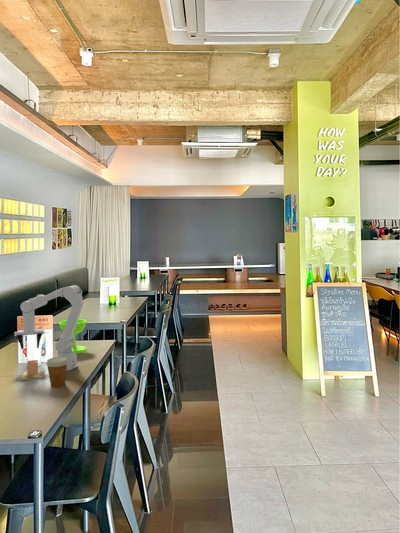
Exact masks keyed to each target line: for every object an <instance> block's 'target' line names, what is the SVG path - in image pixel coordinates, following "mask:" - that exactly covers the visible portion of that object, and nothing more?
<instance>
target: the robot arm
mask: <svg viewBox="0 0 400 533" xmlns="http://www.w3.org/2000/svg"><path fill="white" fill-rule="evenodd" d="M82 294H83V290H82V289H81V287H80V286H79V285H77V284H72V285H70V286H65V287H61V288H58V289H56V290H54V291H52V292H49V293H48V294H46V295H45V294H39V293H38V294H37V295H36V296H35V297H33V298H31V297H30V298H29V299H28V300H25V301H23V302H22V303H20V310H21V312H22V322H23V325H22V326H23V330H21V331H14V337H16V339H17V341H18V343H19V346H20V348H21V350H24V336H32V335H34V336H35V335H36V348H37V349H39V347H40V342H41V338H42V336H43V335H45V330H44V329H36V317H35V310H37V309H38V308H41V307H42V306H46V305H47V304H48V302H49V301H51V300H53V299H57V298H58V297H61V298H64V299H66V300H67V301H68V302H69V303H70V305H71V307H70V311H69V314H68V317H67V319H66V320H67V322H66V325H65V328H64V331H62V333H61V335H60V337H59V338H58V341H56V342H55V345H54V347H55V350H56V351H57V357H65V358H67V361H68V362H67V368H66V372H67V371H68V372H69V371H70V370H73V369H75V368H78V367H79V365H78V355H77V354H76V353H75V352H73V351H72V348H71V347H72V346H73V338H74V336H73V333H74V330H75V327H76V324H77V321H78V319H80V314H81V312H82V310H83V306H84V299H83V295H82Z"/></svg>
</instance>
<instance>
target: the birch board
mask: <svg viewBox="0 0 400 533" xmlns="http://www.w3.org/2000/svg"><path fill="white" fill-rule="evenodd" d="M44 376H45V370H38V374H36V375H27V371H25V372H22V374H21V376H20V380H21V381H24V380H33V379H43V378H44Z"/></svg>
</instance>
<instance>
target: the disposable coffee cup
mask: <svg viewBox="0 0 400 533" xmlns="http://www.w3.org/2000/svg"><path fill="white" fill-rule="evenodd" d="M67 362H68V361H67V358H65V357H58V356H57V357H52V358H48V359H47V360H46V363H45V364H46V366H47V371H48V378H49V382H50V387H52V388H60V387H63V386H66V378H67V377H66V376H67V370H66V368H67Z"/></svg>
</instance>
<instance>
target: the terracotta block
mask: <svg viewBox="0 0 400 533" xmlns="http://www.w3.org/2000/svg"><path fill="white" fill-rule="evenodd" d="M38 371H39V359H33V360H28V361H27V363H26V372H27V375H36V374H38Z"/></svg>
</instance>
